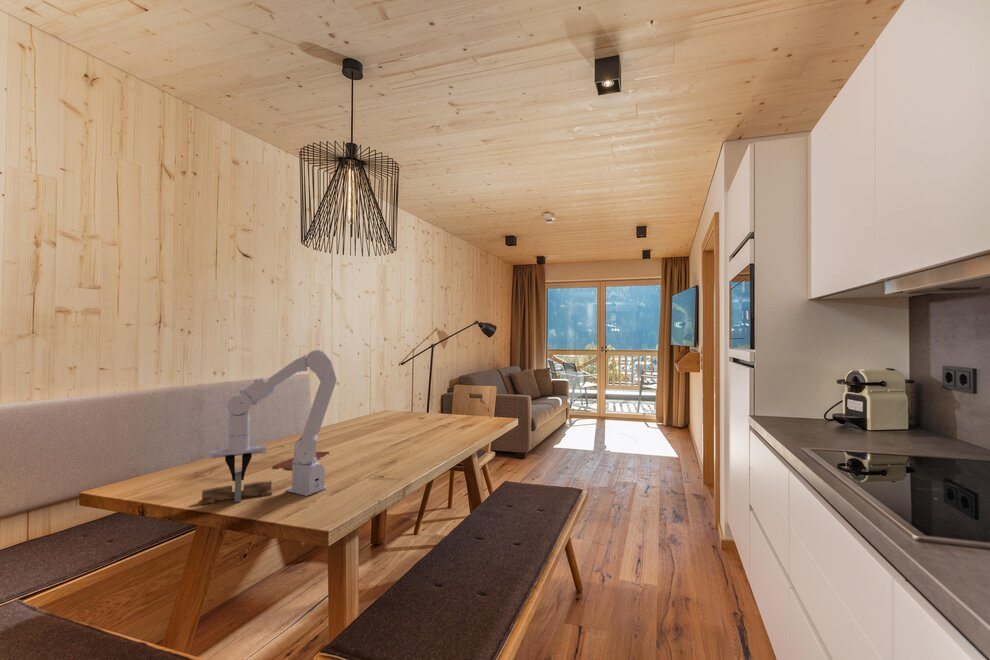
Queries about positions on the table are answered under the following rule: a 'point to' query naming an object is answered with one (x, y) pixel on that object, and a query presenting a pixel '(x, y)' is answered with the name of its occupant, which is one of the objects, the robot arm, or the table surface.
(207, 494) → the walnut slotted stand
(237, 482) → the grey long rectangular block
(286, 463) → the wooden tablet
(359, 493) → the table surface
